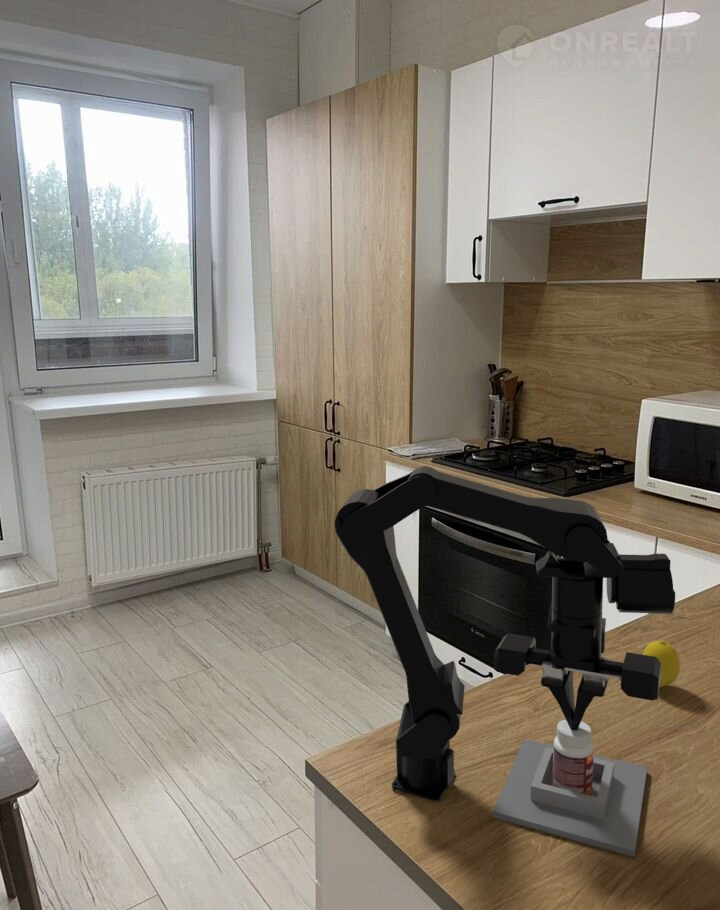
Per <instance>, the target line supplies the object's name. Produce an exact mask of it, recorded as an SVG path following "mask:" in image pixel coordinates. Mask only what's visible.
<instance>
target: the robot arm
mask: <svg viewBox="0 0 720 910" xmlns="http://www.w3.org/2000/svg"><path fill="white" fill-rule="evenodd" d="M424 507H429V508H433V509H436V510H439V511H443V512H446V513H449V514H452V515H456V516H460V517H463V518H467V519H470V520H473V521H477V522H480V523H483V524H487V525H489V526H490V525H491V526H492V527H493V526H494V527H497V528H500V529H504V530H507V531H511V532H513V533H516V534H520V535H523V536H524V537H526V538H528V539H530V540H531V541H533V542H534V543H536V544H537V545H539V546H540V547H542V548H544V549H545V550H546V551H547V552H546V554H545V555H544V556H543V557H541V558H540V559H538V560H537V561H536V562H535V568H536V574H537V576H538V577H544V578H546V577H548V578H549V577H551V578H552V579H551V580H552V581H551V583H552V585H551V589H552V590H551V604H550V606H549V613H548V616H547V619H548V620H547V629H548V630H550V632H551V649H550V650H549V649H543V648H537V640H536V638H535V637H534V636H528V635H521V634H515V633H507V634H506V635H504V636H503V637H502V639H501V641H500V642H499V644H498V645H497V647H496V649H495V651H494V654H493V670H494V671H496V672H497V673H499V674H500V673H501V674H506V675H510V676H511V675H512V676H516V677H518V676H520V675H521V674H522V673H524V672H525V671H526V669H527V668H526V665H527V664H529V665H536V666H541V670H542V677H541V680H540V685H541V686H542V687H545V688H548V689H549V691H550V692H551V694H552V696H553V697H554V699H555V700H556V702H557V704H558V705H559V707H560V710H561V711H562V714H563V716H564V719H565V720H566V721H567V723H568V725H569V727H570V729H571V730H576V731H577V730H578V728H579V725H580V723H581V721H582V720H583V718H584V715H585V713H586V711H587V709H588V707H589V706H590V704H591V703H592V701H593V700H594V698H595V697H599V698H601V697H605V694H606V690H607V687H608V683H609V681H610V680H609V679H616V680H619V681H620V690H621V691H622V692H623V693H624V694H625V695H626V696H627V697H630V698H637V699H641V700H646V701H651V702H652V701H656V700H658V699H659V693H660V692H659V691H660V688H659V687H660V680H661V662H660V661H659V660H658V658H657V657H654V656H647V655H643V654H640V653H635V652H634V653H633V652H627V651H626V652H625V656H624V660H623V662H620V661H616V660H615V661H614V660H610V658H609V657H603V656H602V654H605V653H604V652H605V649H606V626H607V625H606V623H607V618H605V617H603V604H604V603H603V596H604V593H603V592H604V579H606V595H607V596H606V597H607V603H609V604H615V605H616V610H617V611H618V613H624V614H625V613H627V614H628V613H630V614H660V615H661V614H662V615H671V614H673V613H674V610H675V605H676V604H675V603H676V592H675V589H674V582H673V575H672V570H671V560H670V558H669V556H668V555H667V554H665V553H651V554H621V553H619V552H618V551H617V547H616V546H615V544H614V543H613V542H610V540H609V539H608V532H607V529H606V527H605V525H604V522H603V520H602V519H601V517H600V514H599V513H598V511H597V509H596V508H595V507H594V506H592V505H591V504H590V503H588V502H586V501H582V500H578V499H568V498H561V497H559V498H558V497H531V496H529V497H528V496H524V495H521V494H518V493H515V492H511V491H507V490H503V489H500V488H498V487H497V488H496V487H494V486H490V485H487V484H484V483H481V482H480V483H479V482H477V481H472V480H469V479H466V478H463V477H458V476H455V475H452V474H448V473H444V472H442V471H439V470H436V469H435V468H433V467H432V466H431V467H430V466H426V465H425V466H424V465H422V466H418V467H416V468H415V469H413V470H412V471H411V472H409V473H408V474H405V475H403V476H401V477H398V478H396V479H394V480H390V481H388V482H386V483H385V484H382V485H381V486H379V487H377V488H375V489H368V488H364V489H358V490H357V491H355V492H353V493H351V495H350V496H349V497H348V498H347V499H346V500H345V502H344V503H343V504H342V506H341V507H340V509H339V510H338V512H337V514H336V517H335V519H334V531H335V534H336V535H337V538H338V539H339V541H340V543H341V545H342V546H343V548H344V549H345V551H346V553H347V554H348V556H349V557H350V558H351V559H352V560H353V561H354V563H355V564H357V566H359V568H360V569H361V570H362V571H363V572H364V574H365V575H366V577H367V580H368V583H369V585H370V588H371V589H372V593H373V595H374V598H375V600H376V603H377V605H378V608H379V611H380V612H381V614H382V615H381V616H382V617H383V620H384V622H385V625H386V628H387V630H388V633H389V635H390V638H391V640H392V642H393V645H394V646H393V647H394V648H395V650H396V653H397V656H398V658H399V660H400V663H401V666H402V668H403V671H404V673H405V676H406V677H405V678H406V685H407V695H408V701H407V702H406V703H404V705H403V709H402V713H401V717H400V722H399V728H398V730H397V734H396V735H397V737H395V745H396V746H395V751H396V752H395V755H396V777H395V778H394V780H393V781H392V782H391V788H392V789H393V790H395V791H398V792H402V793H406V794H410V795H413V796H417V797H420V798H424V799H427V800H431V801H433V802H439V801H440V800H441V798H442V797H443V795H444V794H445V791H446V790H448V789H449V787H450V785H451V784H452V782H453V780H454V778H455V758H454V757H455V752H454V749H453V748H451V740H452V739H453V738H454V737H456V735H457V734H458V732H459V730H460V725H461V715H463V711H464V702H465V701H464V700H465V689H466V688H465V684H464V683H463V682H462V681H461V680H460V677H459V676H458V673H457V672H458V671H457V666H456V663H455V661H454V660H451V661H450V662H448V663H445V664H444V662H443V661H441V660H440V659H439V658H438V657H437V654H436V653H435V651H434V648H433V646H432V643H431V640H430V637H429V636H428V633H427V630H426V628H425V625H424V623H423V620H422V617H421V615H420V612H419V609H418V608H417V605H416V602H415V600H414V597H413V594H412V592H411V589H410V587H409V584H408V582H407V579H406V576H405V574H404V571H403V568H402V565H401V563H400V561H399V558H398V555H397V554H398V553H397V546H396V537H395V529H394V528H395V527H394V526H396V525H398V523H400V522H402V521H403V520H405V519H406V518H407V517H409V516H410V515H412V514H414V513H415V512H416V511H418V510H420V509H423V508H424ZM574 672H577V673H581V679H580V682H579V685H578V687H577V692H576V693H577V694H576V700H575V691H574Z"/></svg>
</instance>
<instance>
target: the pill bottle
mask: <svg viewBox="0 0 720 910" xmlns="http://www.w3.org/2000/svg"><path fill="white" fill-rule="evenodd" d="M556 727H557V728H556V736H555V738H554V740H553V744H552V745H553V748H554V749H553V786H554V787H558V788H562V789H566V790H570V791H574V792H578V793H581V794H585V795H589V796H590V794H591V792H592V780H593V755H595V752H594V750H595V748H594V743H593V742H592V741H591V740H592V729H591V726H590V725H588V723H586V722H584V721H582V720H581V723H580V725H579V728H578V730H577V731H576V730H571V729H570V727H569V725H568V723H567V721H566V719H563V720H561V721H559V722H558V723H557V725H556Z"/></svg>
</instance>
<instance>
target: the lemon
mask: <svg viewBox="0 0 720 910" xmlns="http://www.w3.org/2000/svg"><path fill="white" fill-rule="evenodd" d="M642 655H647V656H654V657H657V658H658V660H659V661H660V662H661V680H660V687H659V689H661V688H663V687H666V686H670V685H672V684H673V683H674V682H676V680H677V678H678V676H679V675H680V670H681V664H680V663H681V662H680V656H679V653H678V651H677V650H676V648H675V647H674V646H673V644H670V643H669V642H667V641H665V640H664V639H660V640H655V641H652V642H651V643H649V644H647V646H646V647H645V648H644V651H643V653H642Z"/></svg>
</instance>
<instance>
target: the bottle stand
mask: <svg viewBox="0 0 720 910" xmlns="http://www.w3.org/2000/svg"><path fill="white" fill-rule="evenodd" d="M553 745H554V744H550V743H549V744H548V743H544V742H540V741H536V740H530V739H529V738H523V740H522V743H521V745H520V748H519V750H518V752H517V753H516V756H515V759H514V762H513V763H512V765H511V768H510V771H509V773H508V775H507V777H506V780H505V782H504V784H503V787H502V789H501V791H500V794H499V796H498V798H497V800H496V803H495V805H494V807H493V810H492V818H495V819H497V820H502V821H505V822H508V823H512V824H516V825H519V826H523V827H527V828H530V829H533V830H536V831H540V832H543V833H547V834H550V835H554V836H557V837H561V838H564V839H567V840H571V841H576V842H579V843H583V844H585V845H590V846H593V847H597V848H600V849H604V850H607V851H611V852H615V853H618V854H622V855H625V856H628V857H632V858H635V856H636V849H637V844H638V843H637V842H638V835H639V829H640V822H641V815H642V808H643V802H644V801H643V800H644V795H645V788H646V781H647V774H648V766H645V765H640V764H636V763H631V762H627V761H623V760H618V759H613V758H610V757H605V756H600V755H596V754H594V755H593V780H592V792H591V794H590V796H589V795H585V794H581V793H578V792H574V791H570V790H566V789H562V788H558V787H554V786H553V749H554V748H553Z"/></svg>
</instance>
